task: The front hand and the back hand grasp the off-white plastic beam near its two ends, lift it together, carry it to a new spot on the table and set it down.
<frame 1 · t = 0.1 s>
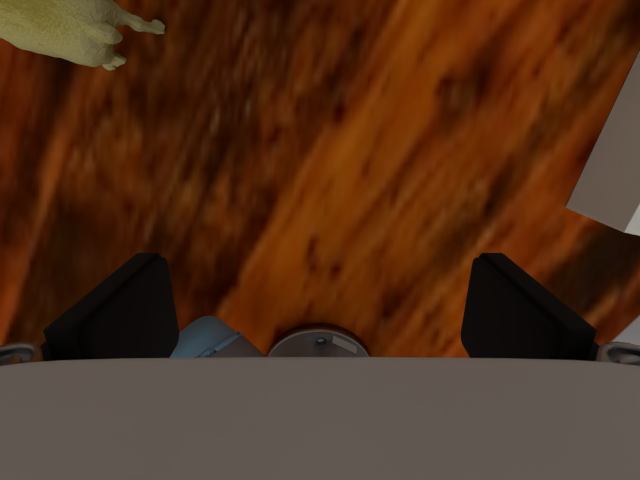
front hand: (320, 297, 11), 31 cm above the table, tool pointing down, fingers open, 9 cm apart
toy: (78, 24, 35), on the table
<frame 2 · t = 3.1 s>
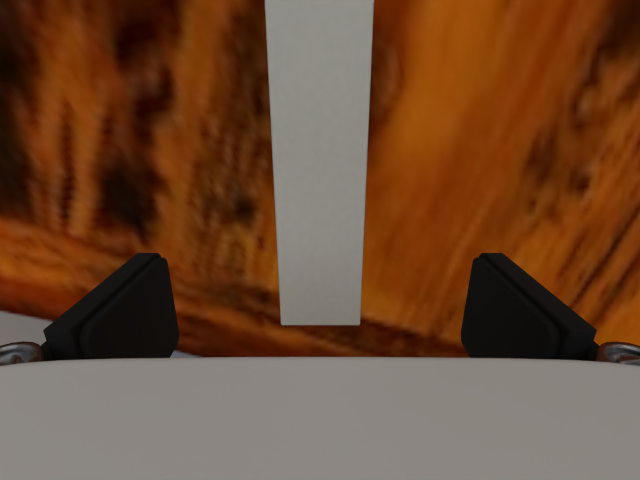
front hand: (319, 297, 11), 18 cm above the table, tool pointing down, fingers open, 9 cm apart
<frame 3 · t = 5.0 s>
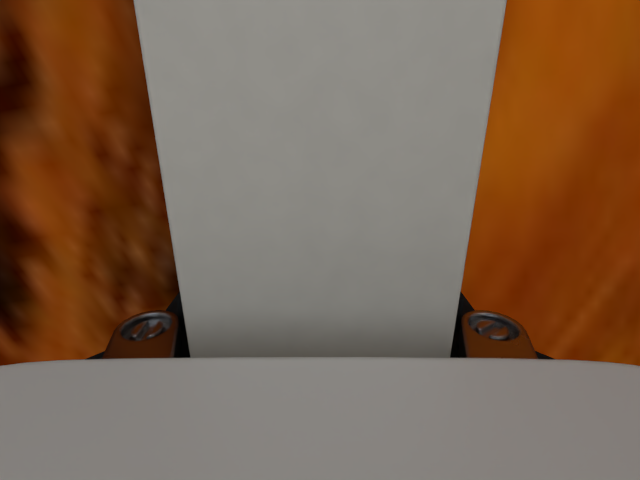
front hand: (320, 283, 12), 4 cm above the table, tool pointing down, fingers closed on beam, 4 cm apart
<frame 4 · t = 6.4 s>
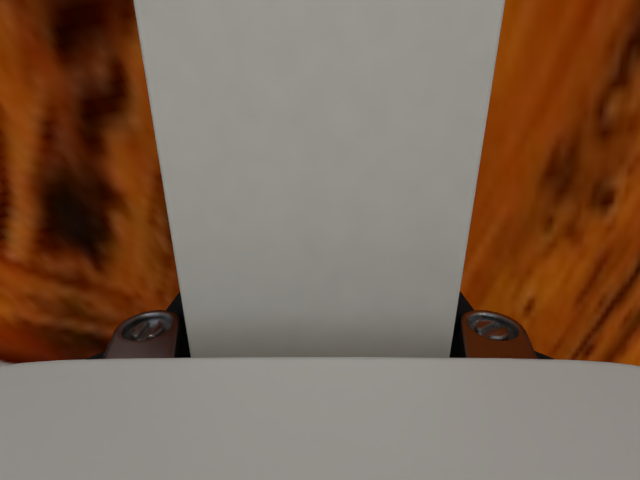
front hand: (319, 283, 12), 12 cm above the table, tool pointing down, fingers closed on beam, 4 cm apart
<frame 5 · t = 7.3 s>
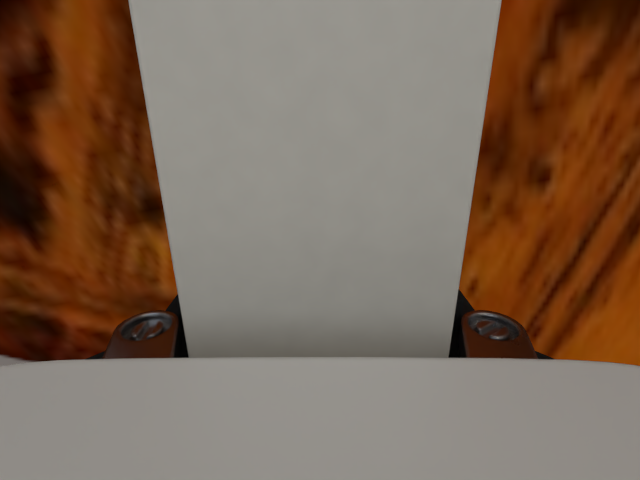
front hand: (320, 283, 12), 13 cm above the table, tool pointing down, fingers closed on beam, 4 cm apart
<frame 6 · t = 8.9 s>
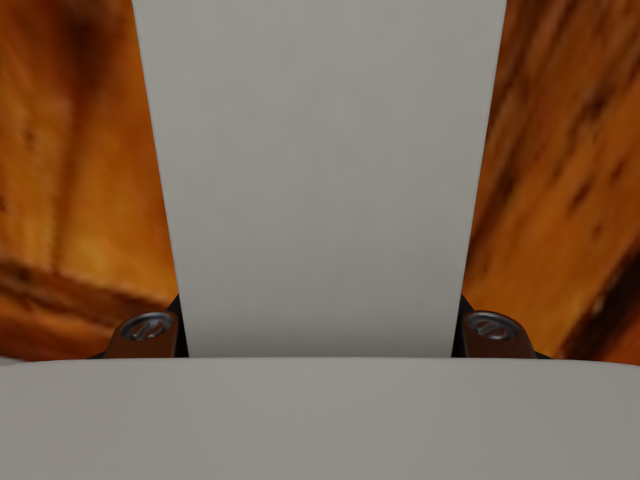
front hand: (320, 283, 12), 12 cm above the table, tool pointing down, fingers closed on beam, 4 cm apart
when the back hand's fingers open (2 cm above the table, at t = 9.9 s): beam drops 1 cm, on the table.
when the front hand's fingers open (5 cm above the table, at t = 10.0 s): beam stays where it is, on the table.
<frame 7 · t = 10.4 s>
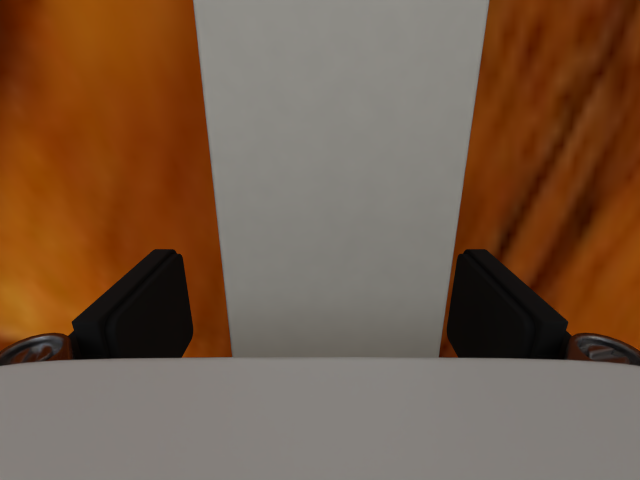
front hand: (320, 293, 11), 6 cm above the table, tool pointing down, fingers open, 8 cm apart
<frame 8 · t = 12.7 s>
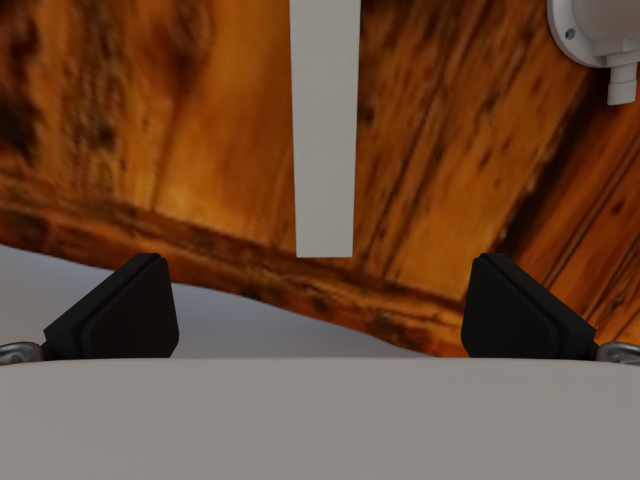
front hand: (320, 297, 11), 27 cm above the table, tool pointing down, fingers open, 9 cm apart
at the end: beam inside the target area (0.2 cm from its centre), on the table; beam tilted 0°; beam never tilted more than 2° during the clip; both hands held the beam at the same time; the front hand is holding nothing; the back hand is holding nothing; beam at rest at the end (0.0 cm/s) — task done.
